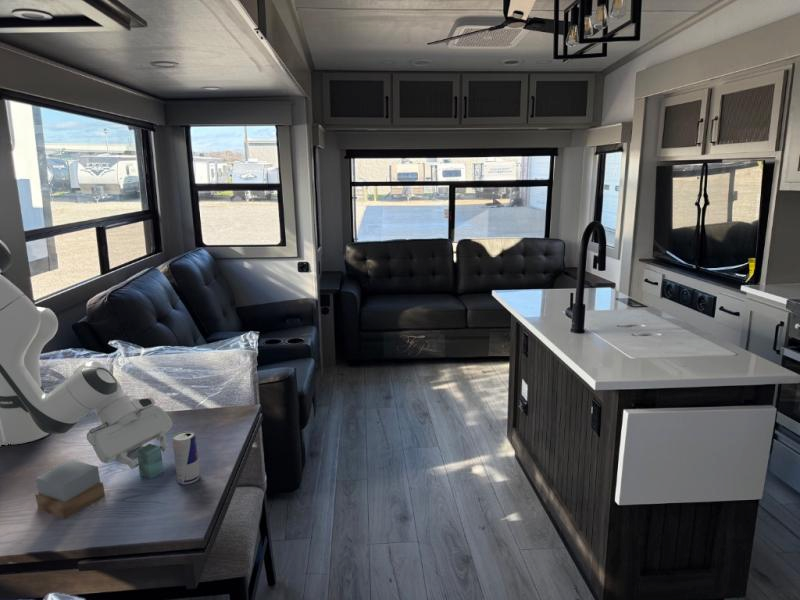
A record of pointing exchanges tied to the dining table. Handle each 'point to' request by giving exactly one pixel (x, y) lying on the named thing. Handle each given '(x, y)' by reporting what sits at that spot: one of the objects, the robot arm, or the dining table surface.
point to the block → (150, 460)
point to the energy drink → (186, 457)
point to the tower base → (70, 501)
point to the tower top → (68, 480)
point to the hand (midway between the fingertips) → (151, 458)
